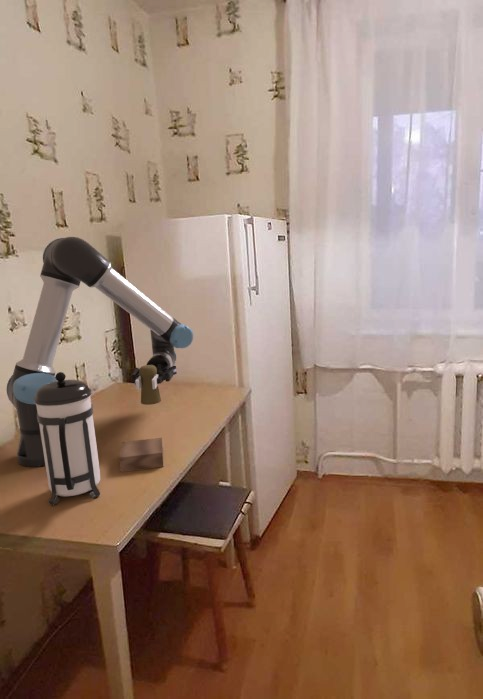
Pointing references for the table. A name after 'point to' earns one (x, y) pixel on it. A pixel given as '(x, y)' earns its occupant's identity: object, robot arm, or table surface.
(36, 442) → the robot arm
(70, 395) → the coffee press
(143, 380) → the olive pawn
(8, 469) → the table surface
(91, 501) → the table surface
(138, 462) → the walnut base
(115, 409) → the table surface
